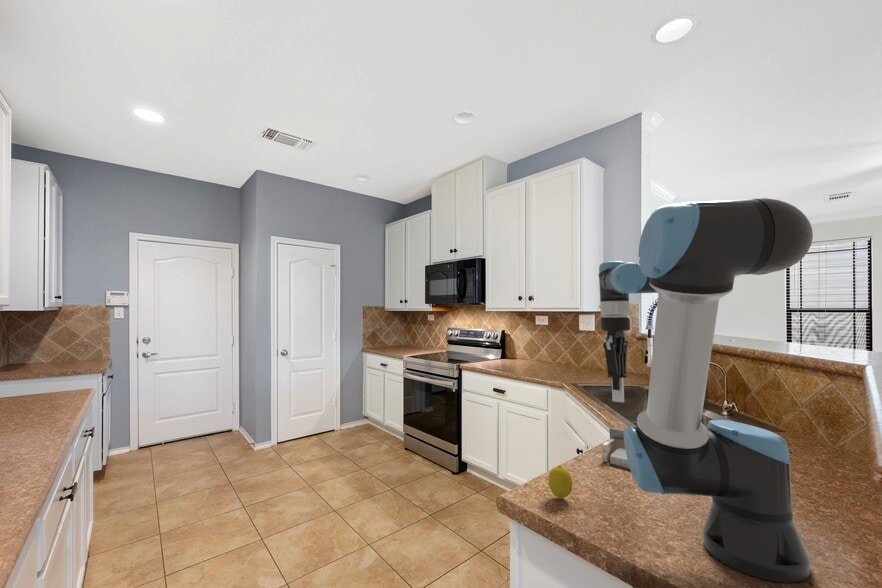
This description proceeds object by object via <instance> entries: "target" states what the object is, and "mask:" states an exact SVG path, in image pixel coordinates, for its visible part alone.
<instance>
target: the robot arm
mask: <svg viewBox="0 0 882 588" xmlns="http://www.w3.org/2000/svg"><path fill="white" fill-rule="evenodd" d="M813 235H814V234H813V228H812V225H811V222H810V220H809V219H808V217H807V215H805V214H804V213H803V211H801V210H800V209H799V208H798V207H796V206H794V205H792V204H790V203H788V202H786V201H782V200H779V199H774V198H773V199H772V198H766V197H764V198H763V197H762V198H751V199H750V198H748V199H730V200H710V201H709V200H708V201H685V202H681V203H680V202H679V203H672V204H665V205H662V206H659V207H658V208H657V209H655V210H654V211H653V212H652V213H651V214H650V216H649V218H647V220H646V222H645V224H644V226H643V230H642V233H641V235H640V239H639V244H638V253H637V254H638V257H639V260H638V263H635V262H626V261H624V260H623V261H622V260H614V261H613V260H612V261H605V262H601V263H600V264H599V266H598V279H599V280H598V281H599V282H598V283H599V302H600V303H599V306H598V309H600V316H602V317H601V318H600V329H601V330H602V331H603V332H607V334H606V337H605V340H606V342H603V349H604V355H605V360H606V361H605V362H606V368H607V378H611V395H612V396H611V397H612V399H611V401H612V402H615V403H616V402H617V403H624V402H625V385H624V383H625V382H624V381H625V380H624V378H627V377H628V375H626V374H627V360H628V359H627V358H628V356H627V355H628V344H629V341H628V340H627V339H626V337H625V334H624V332H626V331H627V332H628V331H630V330H631V318H630V317H629V315H631V313H630V294H658V295H657V305H656V314H655V315H656V316H655V326H654V334H653V345H652V354H651V355H652V356H651V363H650V364H651V366H650V374H649V384H648V394H647V395H648V397H647V404H646V405H647V406H646V407H647V408H646V409H644V410H642V411H641V412H640V413H639V414H638V415H637V417H636V426H632V425H630V426H627V427H626V428H625V430H624V444H625V450H626V455H627V460H628V463H629V467H630V470H629V471H630V473H631V476H632V478H633V481H634V482H635V483H636V485H637V487H638V488H639V489H641V490H642V491H644V492H647V493H653V494H659V495H660V494H661V495H665V494H666V495H680V496H682V495H683V496H701V497H702V496H704V497H711V500H712V501H711V505H710V508H709V510H708V513H707V516H706V520H705V523H704V526H703V528H702V537H703V539H702V541H703V545H704V547H705V549H706V550H707V552H708V553H710V554H711V555H712V556H713V557H714V558H716V559H717V560H718V561H720V562H722V563H724V565H726V566H728V567H730V568H732V569H735V570H736V571H738V572H741V573H743V574H746V575H749V576H752V577H754V578H760V579H763V580H765V581H766V580H767V581H771V582H772V581H773V582H779V583H799V581H800V582H803V581H805V580H806V579H808V578H809V577H810V576H811V575H810V574H811V569H810V568H811V566H810V558H809V555H808V552H807V550H806V547H805V546H804V543H803V541H802V539H801V536H800V534H799V531H798V530H797V527H796V525H795V523H794V516H793V499H792V498H793V497H792V483H791V481H792V480H791V479H792V478H791V465H792V462H791V459H790V458H791V457H790V453H789V447H788V443H787V441H785V439H784V438H783V437H782V436H781V435H779V434H777V433H775V432H773V431H771V430H767V429H765V428H761V427H758V426H754V425H750V424H747V423H742V422H737V421H731V420H725V419H711V420H708V422H707V424H706V425H705V424H703V422H702V417H703V411H704V406H705V405H704V404H705V397H706V392H707V391H706V389H707V385H708V383H707V382H708V376H709V370H710V363H711V357H712V352H713V351H712V350H713V343H714V336H715V328H716V323H717V317H718V312H719V302H720V299H722V298H724V297H725V296H727V295H729V294H730V293H731V292H732V291H733V288H734V284H735V282H734V281H735V278H736V277H738V276H742V275H752V276H753V275H754V276H755V275H756V276H761V275H768V274H771V273H774V272H780V271H783V270H786V269H788V268H791V267H792V266H794V265H796V264H798V263H799V262H800V261H802V259H803V258H804V257H805V256H806V254H808V252H809V250H810V248H811V246H812V242H813V238H814V236H813Z"/></svg>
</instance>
